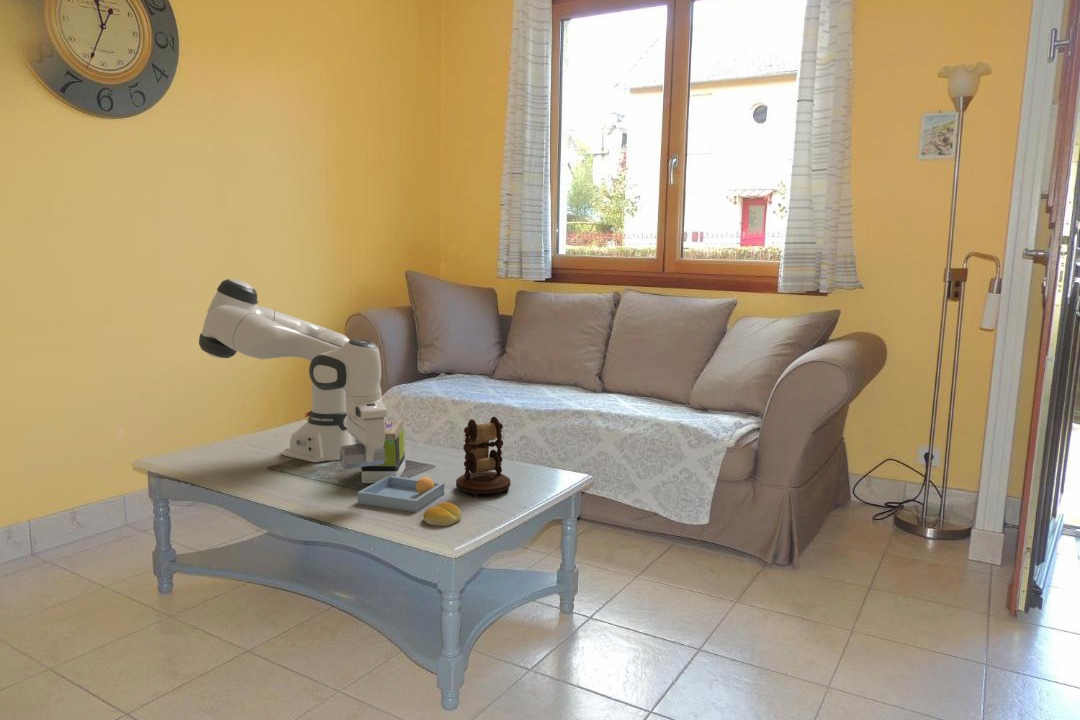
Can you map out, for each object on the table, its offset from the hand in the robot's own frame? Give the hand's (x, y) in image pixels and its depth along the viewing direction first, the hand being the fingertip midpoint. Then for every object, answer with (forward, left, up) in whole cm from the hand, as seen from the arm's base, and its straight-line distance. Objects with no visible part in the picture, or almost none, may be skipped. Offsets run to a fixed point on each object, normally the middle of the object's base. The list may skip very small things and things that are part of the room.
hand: (364, 457), depth 194 cm
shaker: (-4, -4, +1) cm, 6 cm away
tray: (+7, +7, -12) cm, 15 cm away
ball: (+12, +10, -9) cm, 18 cm away
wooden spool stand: (+23, +22, -12) cm, 34 cm away
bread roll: (+23, -3, -12) cm, 27 cm away
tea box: (-8, +22, -12) cm, 26 cm away
